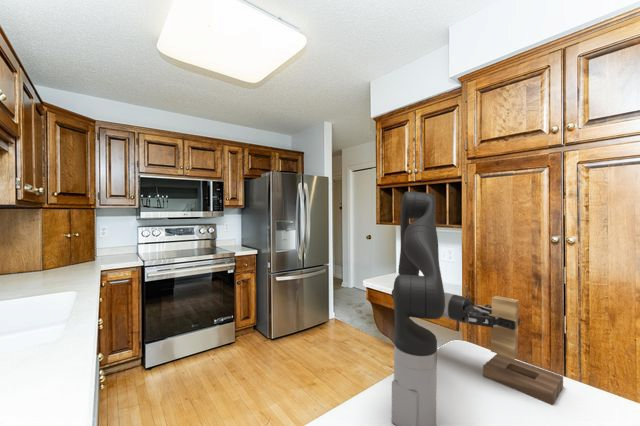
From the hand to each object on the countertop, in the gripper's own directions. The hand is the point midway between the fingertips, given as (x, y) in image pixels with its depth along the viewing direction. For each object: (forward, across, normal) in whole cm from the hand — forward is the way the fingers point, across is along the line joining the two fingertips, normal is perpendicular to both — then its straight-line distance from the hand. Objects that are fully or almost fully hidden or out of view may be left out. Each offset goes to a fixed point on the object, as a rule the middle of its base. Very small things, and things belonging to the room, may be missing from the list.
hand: (517, 323), depth 77 cm
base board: (0, +6, +18) cm, 19 cm away
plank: (-3, 0, +9) cm, 9 cm away
